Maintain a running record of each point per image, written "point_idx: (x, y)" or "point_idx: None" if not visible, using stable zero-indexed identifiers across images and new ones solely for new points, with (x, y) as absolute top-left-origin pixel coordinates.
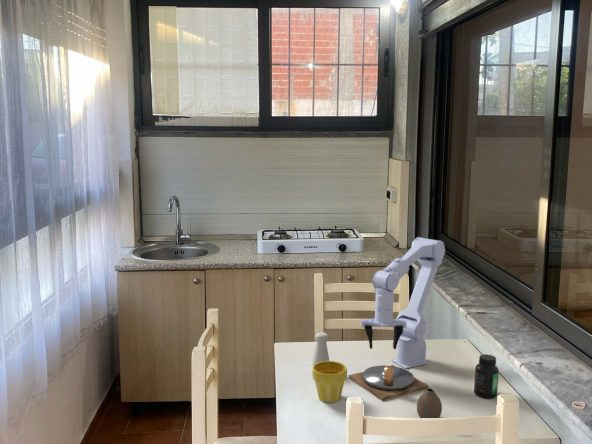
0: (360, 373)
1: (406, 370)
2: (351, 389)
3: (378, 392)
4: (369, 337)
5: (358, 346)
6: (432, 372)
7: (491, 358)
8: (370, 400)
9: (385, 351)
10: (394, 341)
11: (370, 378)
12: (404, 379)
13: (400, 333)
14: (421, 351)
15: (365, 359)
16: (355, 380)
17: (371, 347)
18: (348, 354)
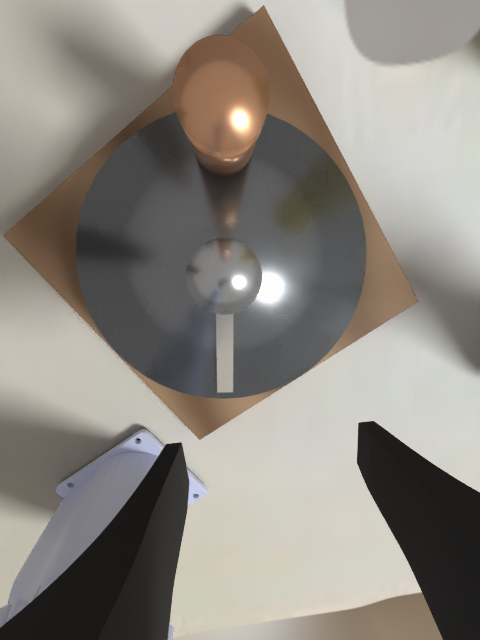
0: (358, 328)
1: (125, 356)
2: (415, 163)
3: (282, 90)
4: (472, 498)
5: (330, 575)
6: (24, 414)
7: None
8: (328, 17)
9: (231, 556)
10: (165, 506)
11: (328, 216)
12: (128, 233)
13: (29, 621)
14: (51, 537)
15: (313, 483)
16: (390, 250)
17: (371, 426)
18: (376, 512)
